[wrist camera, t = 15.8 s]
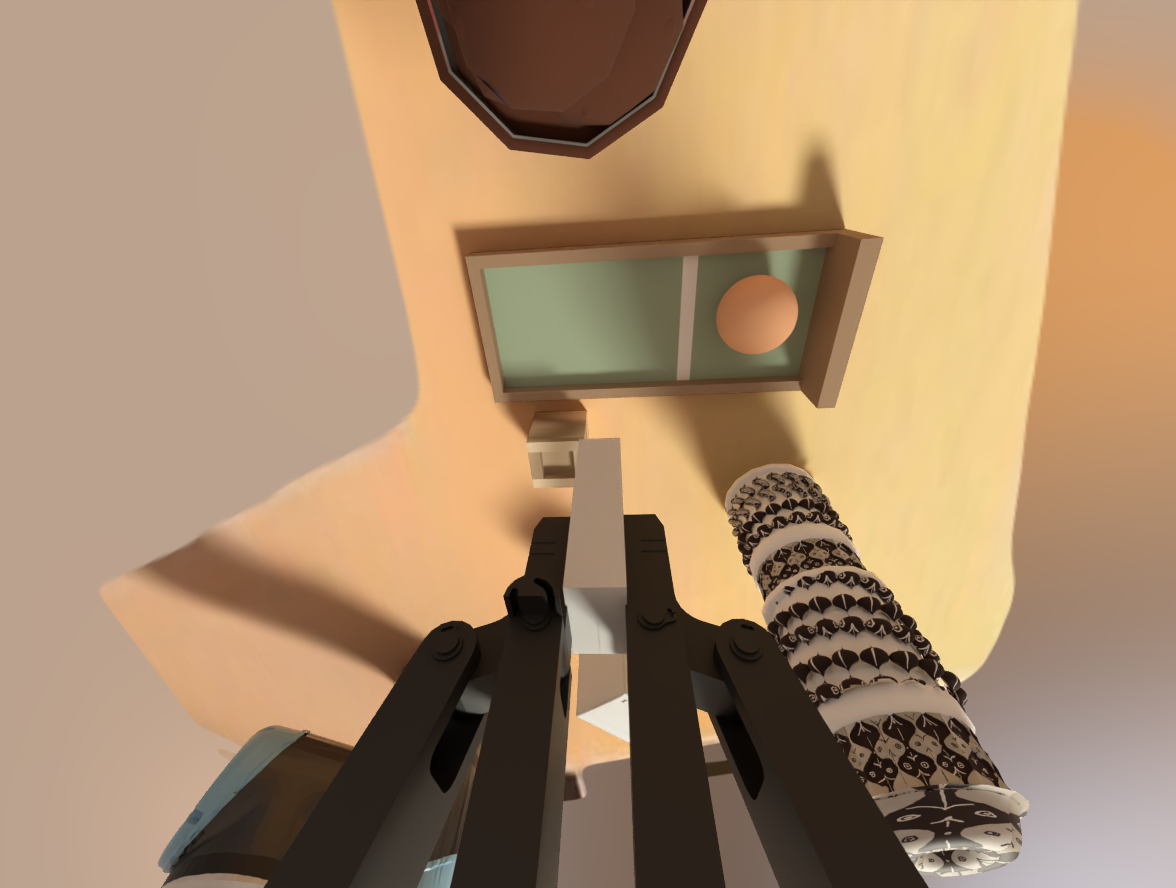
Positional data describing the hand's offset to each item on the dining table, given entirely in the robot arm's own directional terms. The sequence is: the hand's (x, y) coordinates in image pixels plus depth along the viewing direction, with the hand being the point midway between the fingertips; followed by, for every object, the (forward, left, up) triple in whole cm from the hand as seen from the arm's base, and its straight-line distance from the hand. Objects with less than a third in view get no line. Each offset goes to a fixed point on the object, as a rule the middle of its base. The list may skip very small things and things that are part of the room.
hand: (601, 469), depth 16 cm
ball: (+10, +1, -15) cm, 18 cm away
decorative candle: (+15, -18, -19) cm, 30 cm away
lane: (+4, 0, -18) cm, 19 cm away
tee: (-4, -10, -18) cm, 21 cm away
